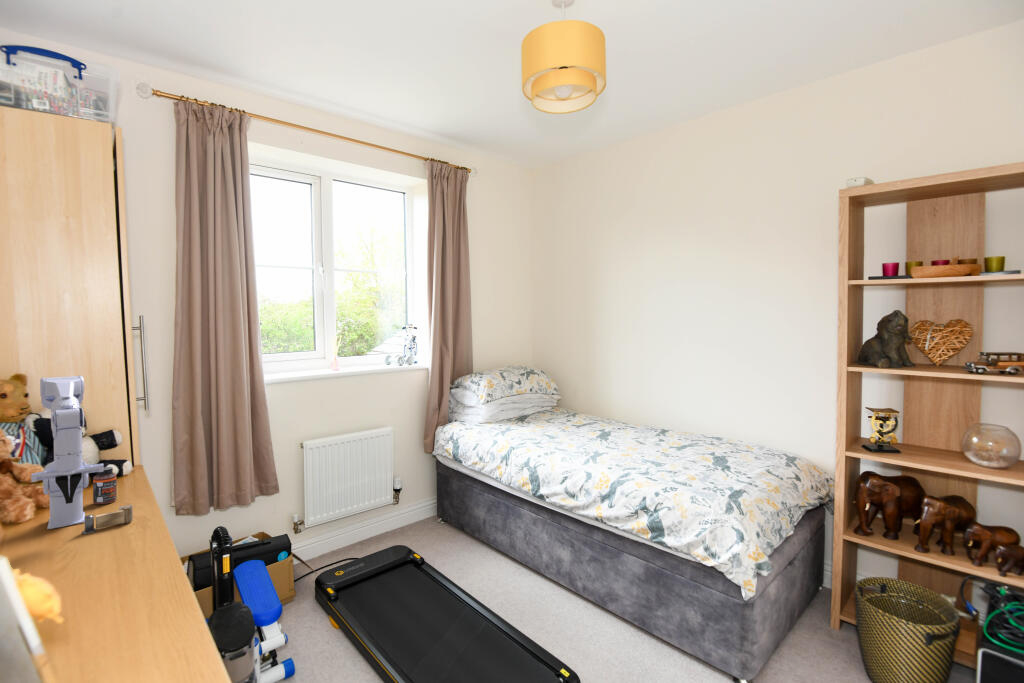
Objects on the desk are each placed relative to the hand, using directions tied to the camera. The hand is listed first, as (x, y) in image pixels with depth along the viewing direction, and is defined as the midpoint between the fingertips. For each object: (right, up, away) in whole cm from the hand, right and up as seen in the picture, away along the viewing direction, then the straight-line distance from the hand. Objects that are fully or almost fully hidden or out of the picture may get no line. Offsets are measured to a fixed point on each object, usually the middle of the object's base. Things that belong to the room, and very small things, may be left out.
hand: (69, 502), depth 133 cm
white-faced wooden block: (+6, -10, +12) cm, 16 cm away
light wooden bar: (+5, -10, +8) cm, 14 cm away
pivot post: (+2, -10, +4) cm, 11 cm away
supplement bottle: (-13, -9, +27) cm, 32 cm away
